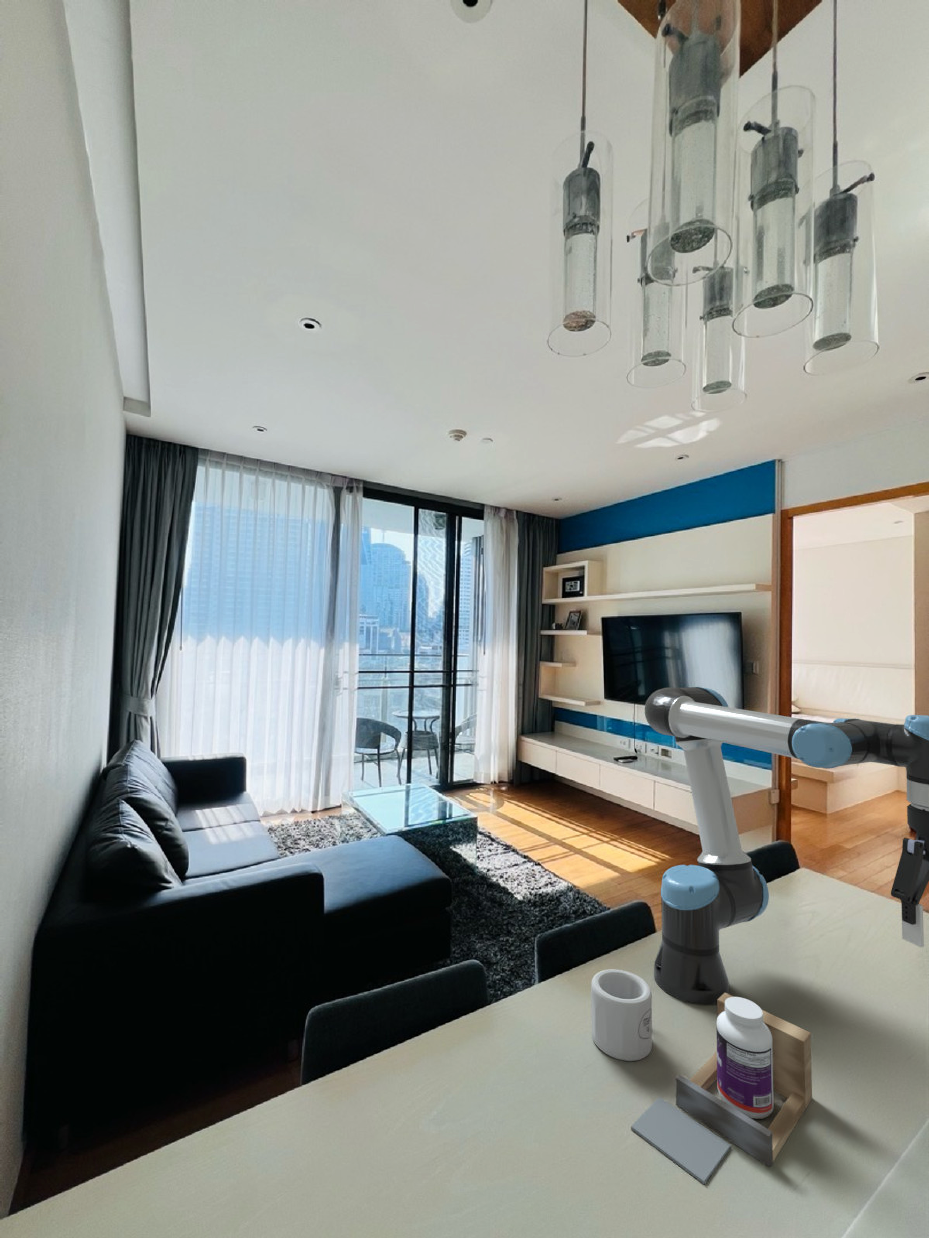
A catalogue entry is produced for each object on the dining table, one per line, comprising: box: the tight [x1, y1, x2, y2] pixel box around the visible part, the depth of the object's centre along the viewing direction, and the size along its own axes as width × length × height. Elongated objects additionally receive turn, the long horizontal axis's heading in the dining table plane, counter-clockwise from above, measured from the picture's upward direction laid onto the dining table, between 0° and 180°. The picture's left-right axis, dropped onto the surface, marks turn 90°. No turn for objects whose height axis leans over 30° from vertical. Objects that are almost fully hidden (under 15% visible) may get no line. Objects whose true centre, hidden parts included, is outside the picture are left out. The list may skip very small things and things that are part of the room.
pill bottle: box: [715, 996, 775, 1120], centre depth 86 cm, size 8×8×14 cm
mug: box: [590, 968, 653, 1062], centre depth 100 cm, size 14×11×10 cm
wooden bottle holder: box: [675, 993, 813, 1168], centre depth 86 cm, size 14×18×10 cm
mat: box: [630, 1096, 732, 1185], centre depth 78 cm, size 11×8×1 cm
